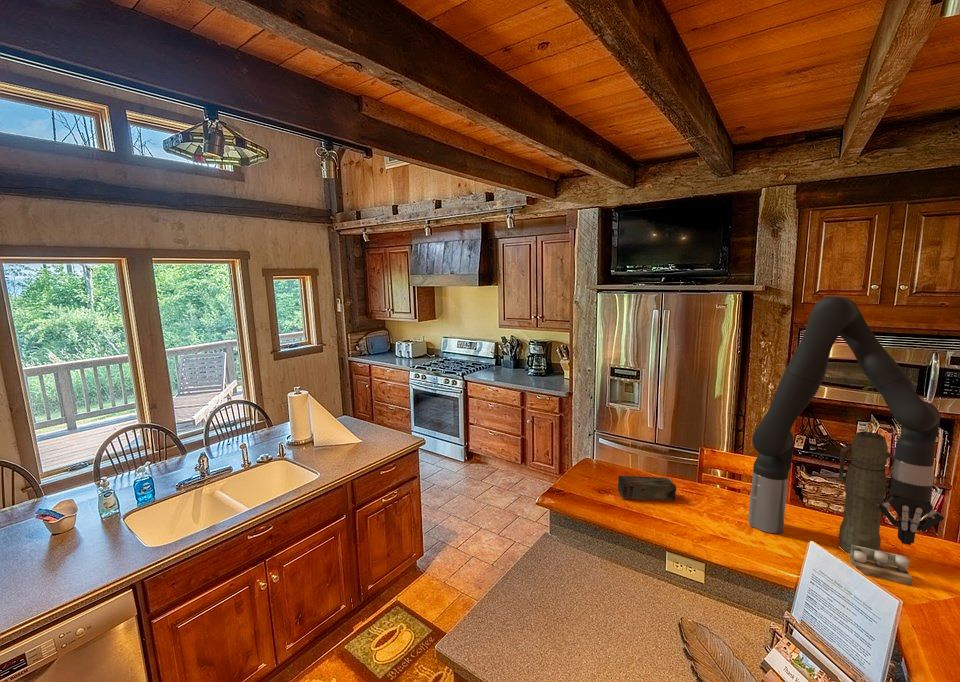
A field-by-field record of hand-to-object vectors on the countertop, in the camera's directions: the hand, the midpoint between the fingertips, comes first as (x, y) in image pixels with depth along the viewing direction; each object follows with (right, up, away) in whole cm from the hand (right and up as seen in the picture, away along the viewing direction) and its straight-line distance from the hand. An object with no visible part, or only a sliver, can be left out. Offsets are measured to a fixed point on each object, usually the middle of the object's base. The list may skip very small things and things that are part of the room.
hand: (905, 543), depth 112 cm
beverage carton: (-50, -5, +47) cm, 68 cm away
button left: (-8, -9, +5) cm, 13 cm away
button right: (0, -8, +1) cm, 8 cm away
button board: (-4, -9, +3) cm, 11 cm away
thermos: (-1, -9, +13) cm, 16 cm away
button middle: (-4, -8, +3) cm, 9 cm away
